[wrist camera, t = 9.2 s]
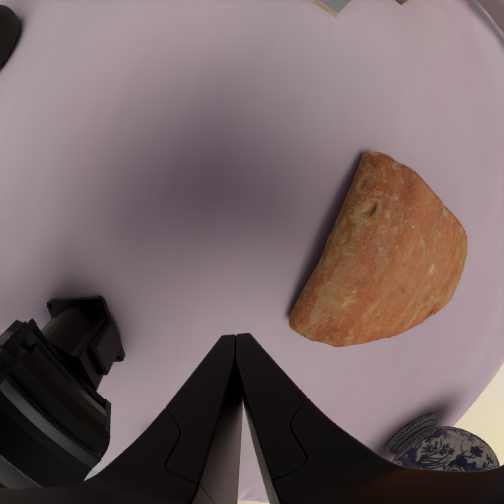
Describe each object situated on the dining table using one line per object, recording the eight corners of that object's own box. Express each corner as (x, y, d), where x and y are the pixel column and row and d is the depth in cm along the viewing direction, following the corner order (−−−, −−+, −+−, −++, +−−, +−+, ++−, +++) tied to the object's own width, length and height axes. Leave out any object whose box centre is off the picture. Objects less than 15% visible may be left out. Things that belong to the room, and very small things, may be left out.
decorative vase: (338, 457, 31) (393, 592, 4) (435, 380, 28) (533, 507, 2) (390, 466, 37) (435, 556, 10) (459, 409, 34) (523, 493, 8)
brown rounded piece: (420, 378, 20) (282, 337, 19) (400, 338, 26) (282, 293, 25) (510, 246, 15) (386, 144, 14) (471, 224, 21) (356, 144, 20)
